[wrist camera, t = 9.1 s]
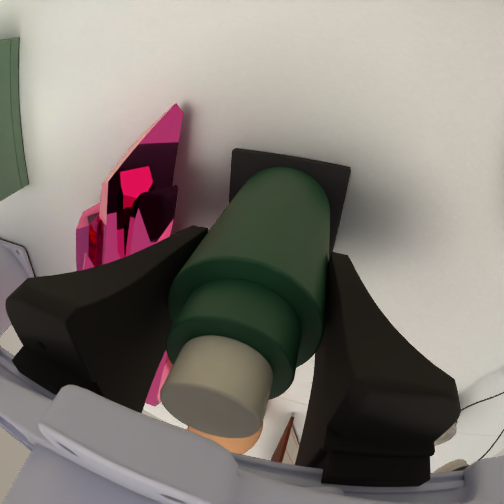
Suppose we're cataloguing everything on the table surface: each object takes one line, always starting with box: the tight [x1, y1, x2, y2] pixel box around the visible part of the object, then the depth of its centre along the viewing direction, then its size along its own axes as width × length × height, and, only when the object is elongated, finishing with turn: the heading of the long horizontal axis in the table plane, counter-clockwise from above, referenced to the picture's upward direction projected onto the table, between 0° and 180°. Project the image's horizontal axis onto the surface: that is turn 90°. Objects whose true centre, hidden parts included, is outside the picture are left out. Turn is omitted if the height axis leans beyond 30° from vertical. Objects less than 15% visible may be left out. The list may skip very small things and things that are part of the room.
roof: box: [271, 417, 299, 465], centre depth 27 cm, size 24×11×5 cm
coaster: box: [229, 148, 351, 263], centre depth 16 cm, size 6×6×1 cm
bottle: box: [160, 166, 330, 438], centre depth 11 cm, size 5×5×11 cm
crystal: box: [76, 103, 183, 406], centre depth 19 cm, size 8×6×25 cm
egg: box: [187, 422, 263, 454], centre depth 24 cm, size 6×6×8 cm
